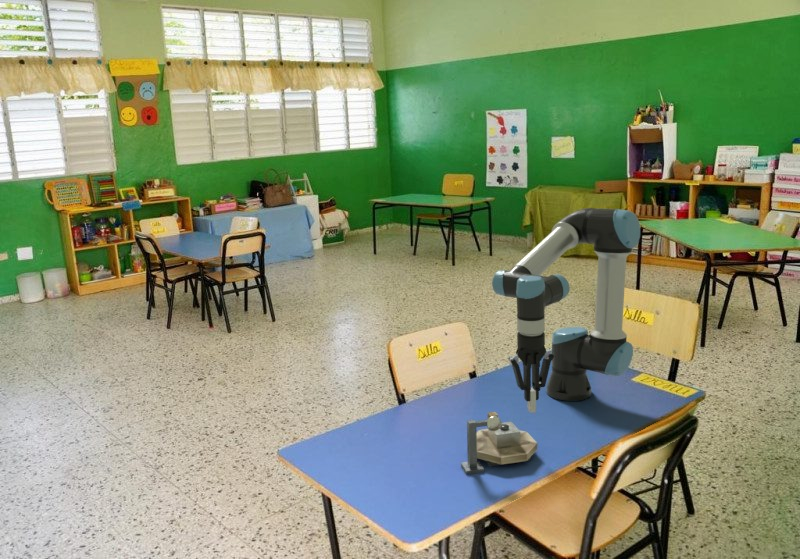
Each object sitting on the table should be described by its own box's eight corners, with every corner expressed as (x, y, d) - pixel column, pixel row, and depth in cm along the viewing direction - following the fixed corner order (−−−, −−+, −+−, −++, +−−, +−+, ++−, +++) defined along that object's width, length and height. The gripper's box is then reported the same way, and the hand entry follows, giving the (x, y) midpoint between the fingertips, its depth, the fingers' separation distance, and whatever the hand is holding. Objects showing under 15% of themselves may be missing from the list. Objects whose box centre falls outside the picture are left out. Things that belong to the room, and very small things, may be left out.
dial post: (496, 460, 187) (496, 410, 184) (503, 469, 183) (503, 418, 179) (460, 465, 185) (459, 415, 182) (466, 474, 180) (465, 422, 177)
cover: (511, 434, 195) (511, 419, 194) (520, 444, 188) (520, 429, 187) (488, 437, 193) (488, 422, 192) (496, 448, 187) (496, 432, 186)
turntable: (519, 430, 201) (520, 408, 200) (545, 458, 184) (545, 434, 183) (462, 438, 198) (462, 415, 196) (482, 467, 181) (482, 443, 179)
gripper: (547, 325, 190) (547, 402, 196) (503, 330, 188) (505, 408, 193) (558, 333, 183) (558, 412, 188) (513, 338, 180) (515, 419, 186)
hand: (531, 410), depth 191 cm, fingers closed
